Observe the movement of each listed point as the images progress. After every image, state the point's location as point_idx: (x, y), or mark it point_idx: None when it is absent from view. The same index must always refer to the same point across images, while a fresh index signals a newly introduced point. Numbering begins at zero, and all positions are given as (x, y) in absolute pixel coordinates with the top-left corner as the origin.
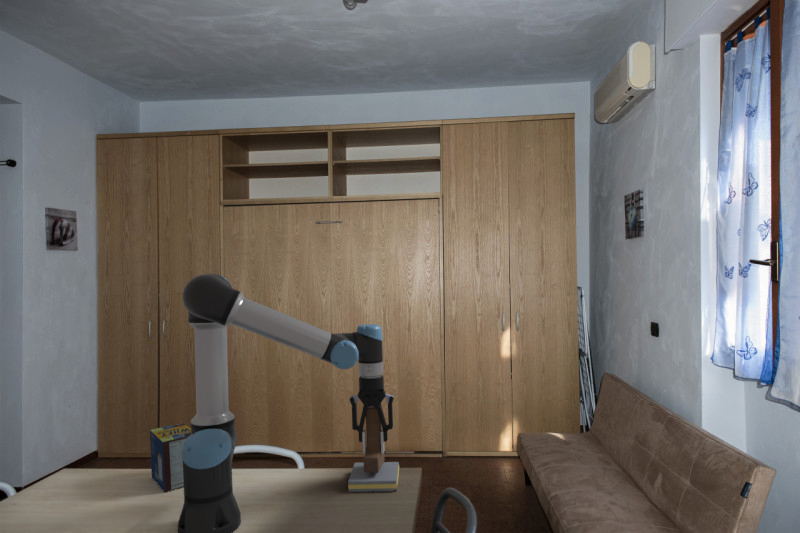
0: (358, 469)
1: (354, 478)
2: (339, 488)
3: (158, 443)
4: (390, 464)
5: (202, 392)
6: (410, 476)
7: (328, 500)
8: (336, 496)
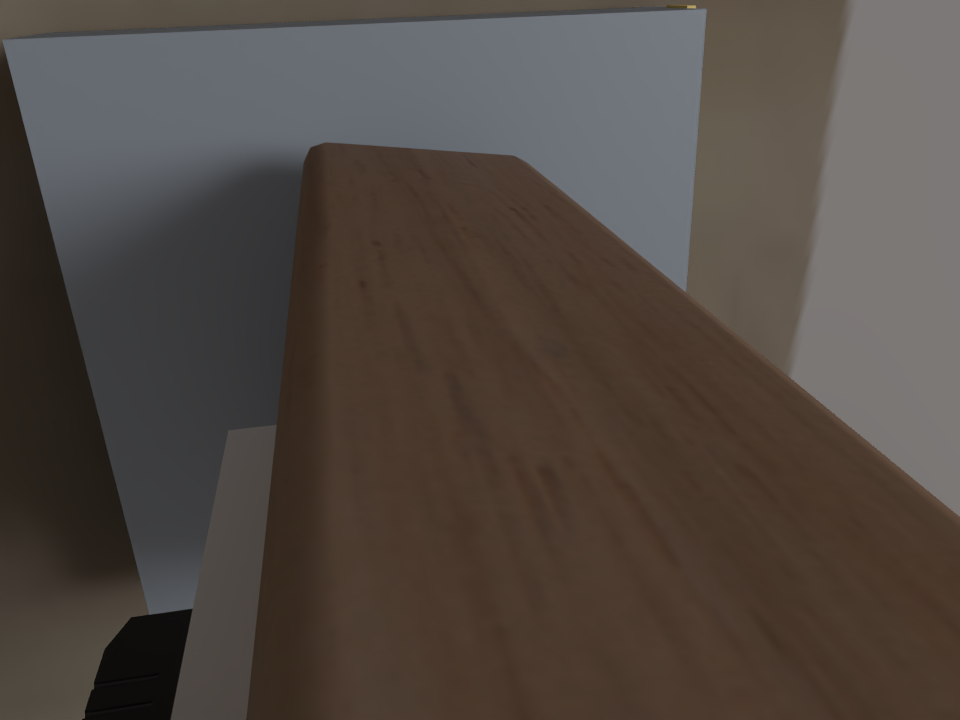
0: (163, 303)
1: (198, 549)
2: (34, 492)
3: None
4: (592, 110)
5: None
6: (777, 158)
7: (32, 707)
8: (78, 637)
